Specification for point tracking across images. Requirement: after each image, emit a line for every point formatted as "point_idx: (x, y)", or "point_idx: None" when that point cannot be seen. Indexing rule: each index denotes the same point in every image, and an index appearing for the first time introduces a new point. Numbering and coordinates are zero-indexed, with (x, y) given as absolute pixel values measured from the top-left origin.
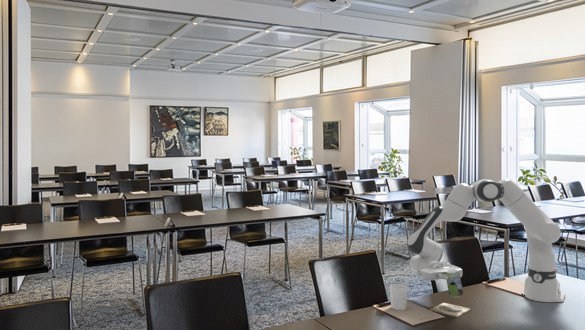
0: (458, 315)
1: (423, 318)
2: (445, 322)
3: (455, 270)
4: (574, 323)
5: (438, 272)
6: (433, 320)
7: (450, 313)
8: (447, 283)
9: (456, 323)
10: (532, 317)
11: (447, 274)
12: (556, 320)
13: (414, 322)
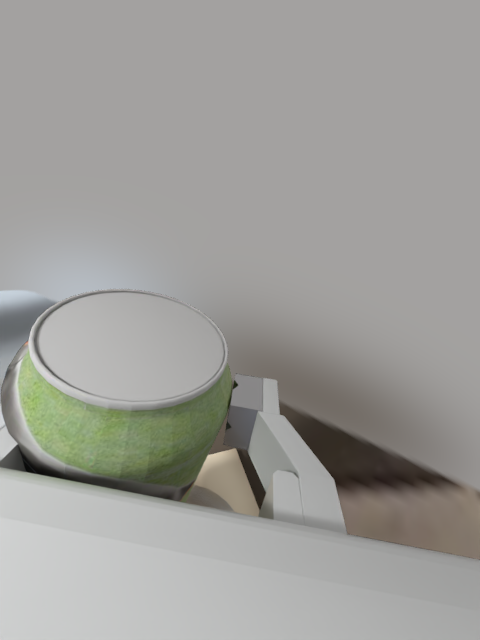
0: (226, 451)
1: (411, 529)
2: (320, 436)
3: (95, 308)
4: (24, 293)
5: (332, 534)
6: (363, 478)
7: (243, 490)
8: (192, 486)
9: (285, 411)
10: (26, 336)
11: (227, 381)
12: (20, 308)
13: (464, 504)
